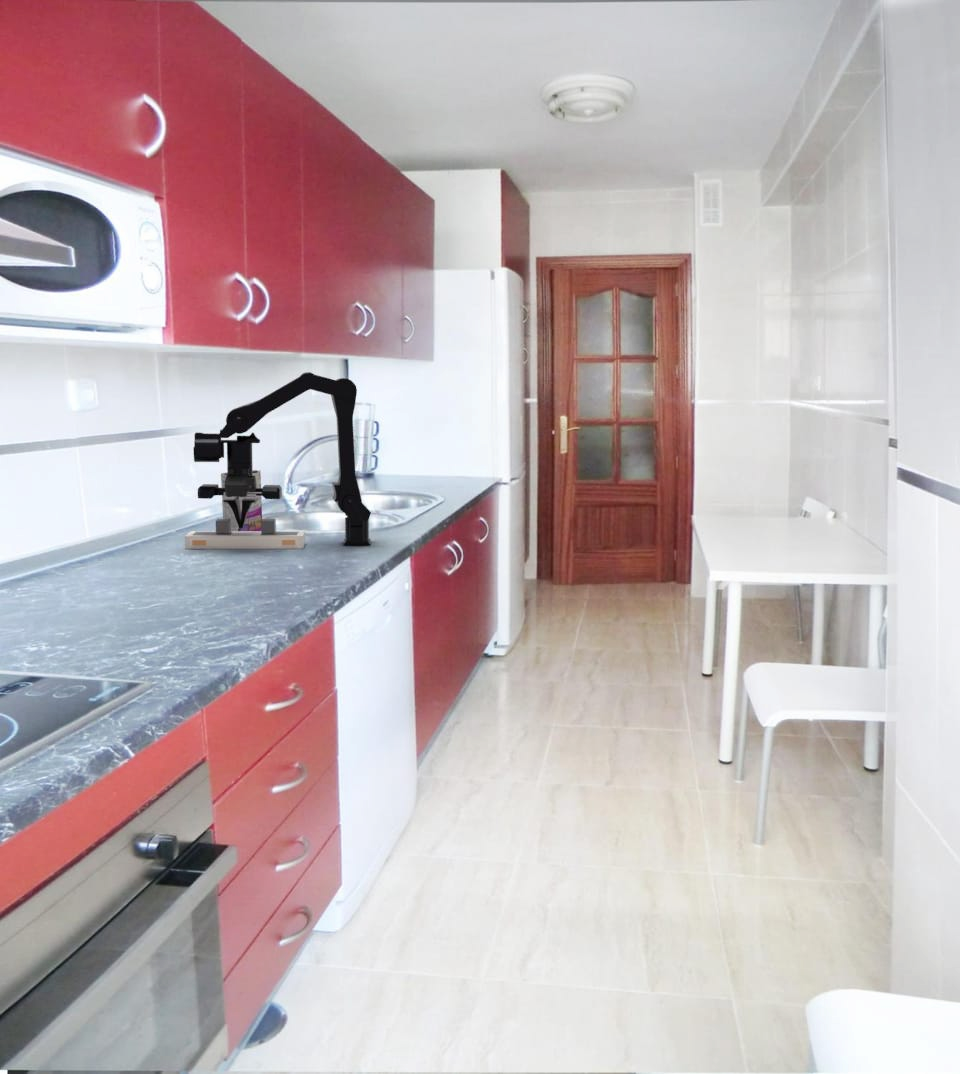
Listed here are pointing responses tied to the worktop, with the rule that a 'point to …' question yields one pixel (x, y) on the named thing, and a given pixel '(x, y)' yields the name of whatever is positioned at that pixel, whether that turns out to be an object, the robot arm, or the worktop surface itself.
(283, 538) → the switch bank
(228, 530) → the outer tab
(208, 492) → the robot arm
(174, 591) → the worktop surface
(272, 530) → the inner tab
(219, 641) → the worktop surface
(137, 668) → the worktop surface
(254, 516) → the candy bar box
